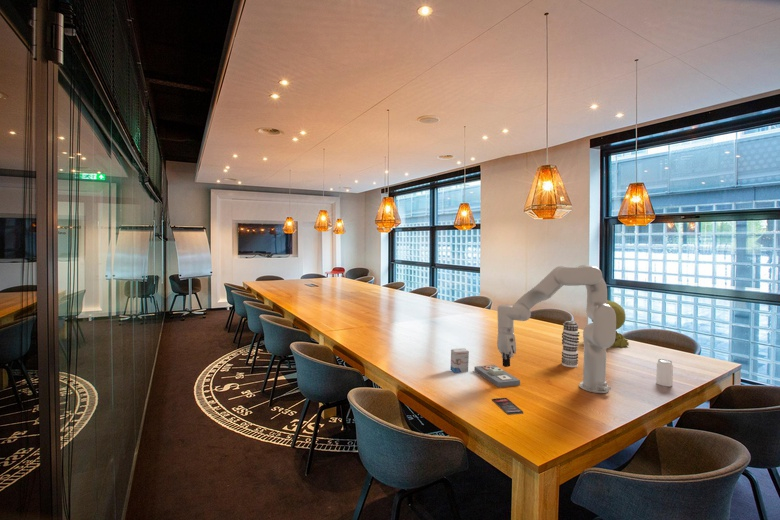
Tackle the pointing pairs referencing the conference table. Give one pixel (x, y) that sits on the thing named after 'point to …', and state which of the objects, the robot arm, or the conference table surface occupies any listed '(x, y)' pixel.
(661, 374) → the can
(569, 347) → the leaning tower model
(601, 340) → the robot arm
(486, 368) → the tile three
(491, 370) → the tile two
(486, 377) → the console
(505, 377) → the tile one
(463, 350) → the ink box
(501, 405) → the smartphone
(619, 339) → the trophy
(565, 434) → the conference table surface
